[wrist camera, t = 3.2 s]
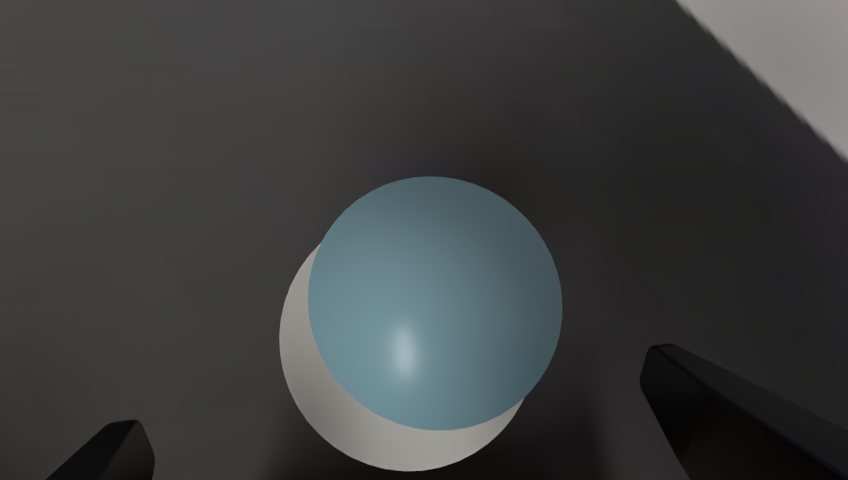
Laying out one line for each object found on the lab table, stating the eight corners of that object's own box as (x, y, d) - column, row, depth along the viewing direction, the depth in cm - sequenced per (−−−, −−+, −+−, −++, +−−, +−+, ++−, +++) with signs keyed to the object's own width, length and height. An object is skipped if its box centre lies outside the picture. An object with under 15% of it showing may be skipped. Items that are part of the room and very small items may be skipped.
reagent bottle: (469, 334, 17) (667, 218, 6) (416, 455, 16) (550, 602, 4) (361, 279, 17) (358, 67, 6) (297, 394, 16) (141, 387, 5)
